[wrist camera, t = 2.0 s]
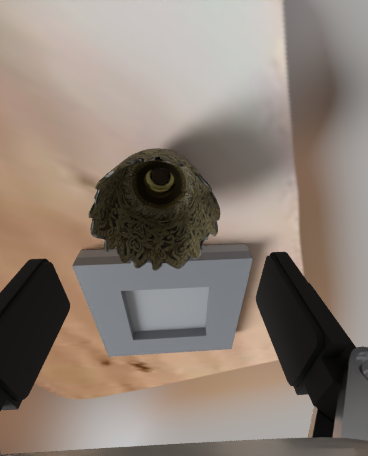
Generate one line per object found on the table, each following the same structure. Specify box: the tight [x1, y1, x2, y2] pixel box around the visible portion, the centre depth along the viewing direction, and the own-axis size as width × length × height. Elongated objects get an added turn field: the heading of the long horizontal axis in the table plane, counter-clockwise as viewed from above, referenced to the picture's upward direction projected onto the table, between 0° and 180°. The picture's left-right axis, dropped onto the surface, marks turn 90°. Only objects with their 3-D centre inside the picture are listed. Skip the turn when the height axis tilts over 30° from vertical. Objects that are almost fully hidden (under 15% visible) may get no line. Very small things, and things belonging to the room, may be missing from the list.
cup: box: [89, 149, 220, 271], centre depth 15 cm, size 8×7×8 cm
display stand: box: [73, 244, 253, 357], centre depth 27 cm, size 18×18×2 cm
